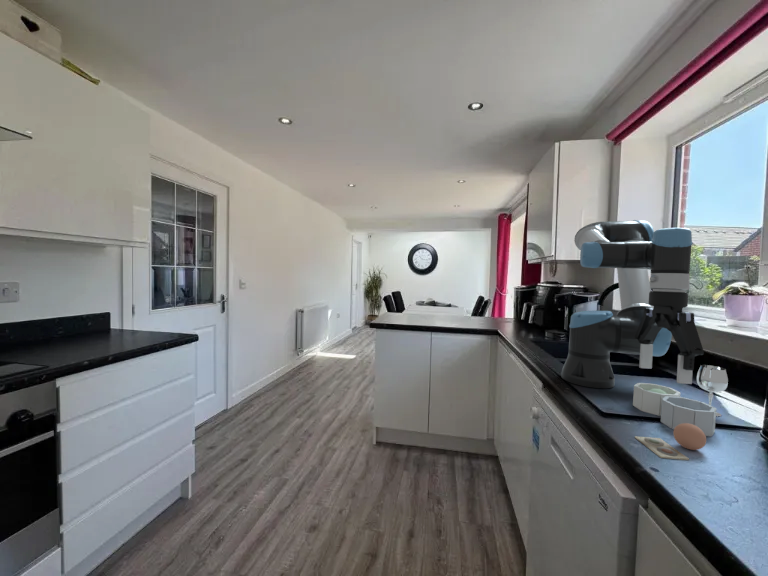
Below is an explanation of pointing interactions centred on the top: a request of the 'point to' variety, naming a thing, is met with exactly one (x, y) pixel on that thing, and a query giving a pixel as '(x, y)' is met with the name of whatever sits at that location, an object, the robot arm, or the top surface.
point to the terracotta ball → (689, 436)
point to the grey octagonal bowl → (688, 413)
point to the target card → (661, 448)
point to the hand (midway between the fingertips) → (663, 375)
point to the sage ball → (658, 391)
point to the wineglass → (712, 380)
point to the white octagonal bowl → (651, 397)
